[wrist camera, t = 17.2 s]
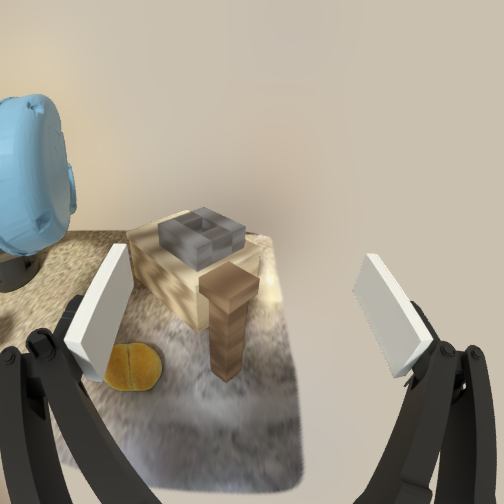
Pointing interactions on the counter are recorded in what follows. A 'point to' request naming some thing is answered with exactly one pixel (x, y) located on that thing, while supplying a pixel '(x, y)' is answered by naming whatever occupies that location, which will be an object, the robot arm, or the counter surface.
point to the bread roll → (133, 367)
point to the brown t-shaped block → (227, 315)
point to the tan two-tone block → (188, 258)
